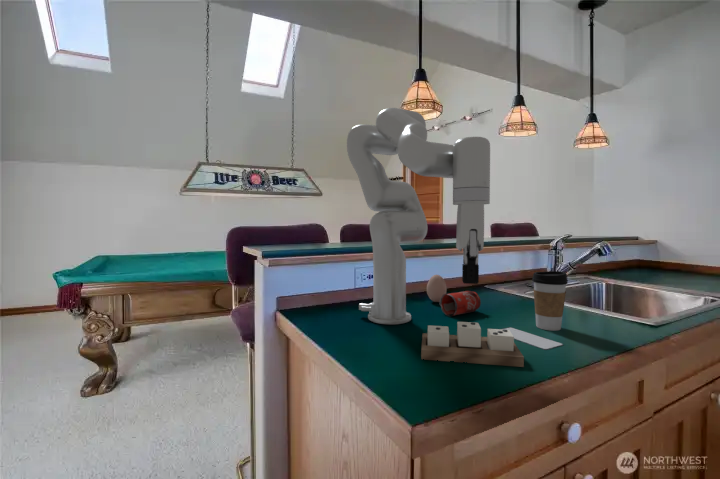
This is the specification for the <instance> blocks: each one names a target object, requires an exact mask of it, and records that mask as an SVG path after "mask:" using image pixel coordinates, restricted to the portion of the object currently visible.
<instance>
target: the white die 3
mask: <svg viewBox="0 0 720 479" xmlns="http://www.w3.org/2000/svg"><path fill="white" fill-rule="evenodd" d="M502 329H503V328H499V329H498V328H487V336H486V337H487V346H488V349H489V350H501V351H513V349H514V343H515V339H514V336H513V335H512V333H511V332H510V330H505V329H503V330H502Z"/></svg>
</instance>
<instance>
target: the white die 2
mask: <svg viewBox="0 0 720 479" xmlns="http://www.w3.org/2000/svg"><path fill="white" fill-rule="evenodd" d="M456 326H457V327H456V328H457V329H456V330H457V331H456V335H457V341H458V346H465V347H480V348H481V337H482V328H481V326H480V324H479V322H475V321H474V322H470V321H469V322H468V321H457V323H456Z"/></svg>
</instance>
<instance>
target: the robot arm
mask: <svg viewBox="0 0 720 479" xmlns="http://www.w3.org/2000/svg"><path fill="white" fill-rule="evenodd" d="M376 116H377V117H376V120H375V125H373V124H367V123H366V124H356V125H355V126H353V127H351V129H350V130H349V132H348V134H347V137H346V152H347V156H348V159H349V161H350V164H351V165H352V168H353V169H354V171H355V174H356V175H357V177H358V178H357V179H358V180H359V183H360V187H361V191H362V193H363V194H362V195H363V196H364V199H365V202H366V204H367V207H368V209H370V210H371V211H373V212H376V213H375V214H374V215H373V216H372V217H371V219H370V222H369V233H370V238H371V243H372V245H371V246H372V258H373V259H372V263H373V264H372V266H373V267H372V268H373V272H372V273H373V274H372V275H373V276H372V277H373V280H372V281H373V282H372V284H373V286H372V287H373V288H372V290H373V292H372V294H373V297H372V298H373V299H372V300H373V301H372V302H370V303H363V302H361V303H359V304H358V310H359V311H361V312H369V313H368V314H367V319H368V320H369V322H370V321H371V322H373V323H376V324H381V325H401V324H405V323H408V322H410V321H411V320H412V315H411V313H410V312H407V306H406V305H407V259H406V258H407V257H406V255H405V252H404V250H403V248H402V247H401V245H400V244H409V243H410V244H411V243H418V242H421V241H423V240H424V239H425V238H426V236H427V234H428V230H429V229H428V221H427V217H426V215H425V212H424V209H423V206H422V204H421V202H420V199H419V196H418V194H417V192H416V190H415V188H414V187H413V186H412V185H411V184H410V183H408V182H405V181H401V180H391V179H390V178H389V177H388V175H387V173H386V170H385V167H384V165H383V164H382V163H381V162H380V160H379V159H378V158H377V157H375V156H374V155H381V156H382V155H383V156H396V155H397V157H398V159H399V161H400V163H401V164H403V165H404V167H406V168H407V169H409V170H410V171H411V172H413V173H415V174H417V175H418V176H422V177H431V178H432V177H433V178H434V177H435V178H444V179H452V205H453V206H454V205H455V206H457V209H456V210H457V211H456V237H455V238H456V242H455V243H456V244H455V248H456V249H457V250H458V251H459V252H462V258H463V259H462V263H463V264H461V265H462V269H461V270H462V272H461V273H462V277H461V278H462V283H463V284H466V285H467V284H469V285H470V284H471V285H476V284H479V278H480V277H479V274H480V273H479V271H480V270H479V269H480V266H479V252H481V251H483V250H484V246H485V245H484V244H485V205H489V204H491V203H490V201H491V200H490V199H491V197H490V195H491V194H490V193H491V188H490V187H491V143H490V141H489V139H488V138H486V137H484V136H468V137H462V138H459V139H457V140H456V141H455V142H454V144H448V143H442V142H433V141H428V130H427V124H426V120H425V117H424V116H423V114H421V113H419V112H417V111H414V110H409V109H404V108H399V107H398V108H397V107H387V108H385V109H382V110H381V111H380V112H379V113H378V114H377V115H376ZM373 154H374V155H373Z"/></svg>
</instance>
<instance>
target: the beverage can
mask: <svg viewBox="0 0 720 479" xmlns="http://www.w3.org/2000/svg"><path fill="white" fill-rule="evenodd" d="M481 304H482V301H481V297H480V296H479V294H478V293H477V292H476V291H471V290H465V291H464V290H463V291H459V292H451V293H446V294H444V295H443V296H442V298H441V299H440V302H439V306H440V307H441V308H440V309H441V311H442V313H444V314H445V315H446V316H447V317H449V316H450V315H451V317H454V316H458V315H459V316H460V315H464V314H469V313H473V312H476V311H477V310H478V309H480V307H481Z"/></svg>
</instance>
